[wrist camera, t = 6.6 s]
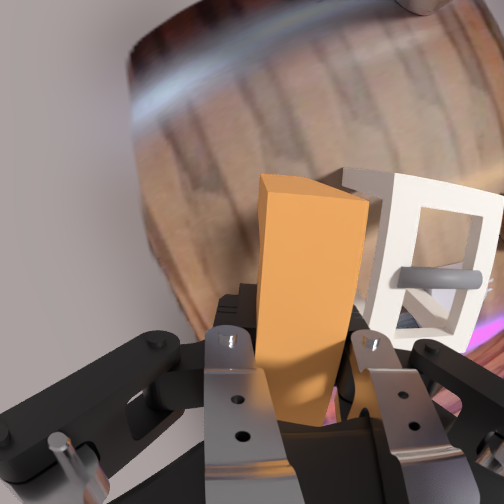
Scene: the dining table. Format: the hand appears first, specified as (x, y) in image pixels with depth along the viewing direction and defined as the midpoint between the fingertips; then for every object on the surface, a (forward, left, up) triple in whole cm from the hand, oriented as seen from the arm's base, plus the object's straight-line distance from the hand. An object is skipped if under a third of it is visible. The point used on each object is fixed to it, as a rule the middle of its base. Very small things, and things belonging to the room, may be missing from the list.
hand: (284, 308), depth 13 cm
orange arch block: (0, 0, -6) cm, 6 cm away
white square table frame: (+3, +17, -29) cm, 34 cm away
